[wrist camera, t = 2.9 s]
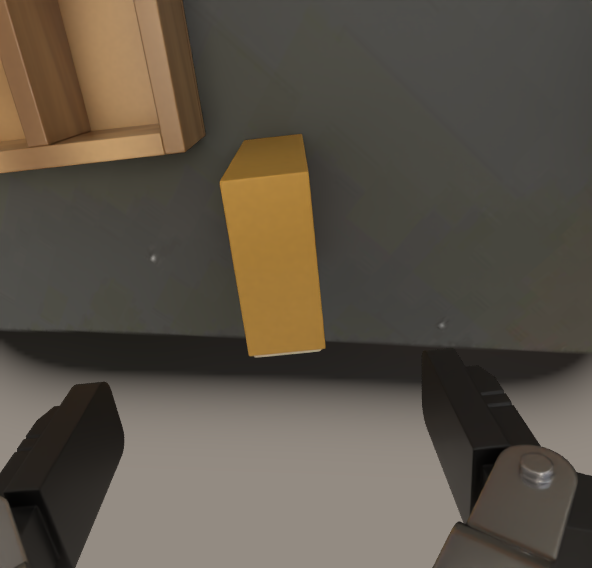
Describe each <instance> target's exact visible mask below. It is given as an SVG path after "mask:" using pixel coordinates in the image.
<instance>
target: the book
mask: <svg viewBox="0 0 592 568" xmlns="http://www.w3.org/2000/svg"><path fill="white" fill-rule="evenodd" d="M220 189H221V194H222V200H223V206H224V212H225V218H226V224H227V230H228V236H229V242H230V247H231V253H232V259H233V265H234V271H235V277H236V283H237V289H238V294H239V300H240V306H241V312H242V318H243V324H244V330H245V336H246V341H247V347H248V353H249V356H255V357H266V356H276V355H286V354H298V353H308V352H318V351H321V349H325V347H326V346H325V336H324V326H323V315H322V305H321V295H320V285H319V274H318V264H317V254H316V244H315V233H314V223H313V213H312V203H311V192H310V182H309V172H308V166H307V160H306V155H305V149H304V143H303V137H302V134H295V135H287V136H278V137H269V138H260V139H251V140H244V141H243V143H242V145H241V146H240V148H239V150H238V151H237V153H236V155H235V156H234V158H233V160H232V162H231V163H230V165H229V167H228V168H227V170H226V172H225V173H224V175H223V177H222V178H221V180H220Z"/></svg>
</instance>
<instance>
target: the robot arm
mask: <svg viewBox="0 0 592 568" xmlns="http://www.w3.org/2000/svg"><path fill="white" fill-rule="evenodd" d="M422 408H423V415H424V420H425V424H426V427H427V429H428V432H429V435H430V437H431V440H432V442H433V445H434V448H435V450H436V453H437V455H438V458H439V461H440V463H441V466H442V468H443V471H444V474H445V476H446V478H447V481H448V484H449V486H450V489H451V491H452V494H453V497H454V499H455V502H456V504H457V507H458V510H459V512H460V515H461V518H462V520H463V523H462V522H457V523H456V524H455V525H454V527H453V528H452V530H451V532H450V534H449V536H448V538H447V540H446V542H445V544H444V546H443V548H442V550H441V552H440V554H439V556H438V558H437V560H436V562H435V564H434V566H433V568H592V476H590V475H585V474H581V473H578V472H576V471H575V469H574V468H573V466H572V465H571V464H570V463H569V461H567V460H566V459H565V458H564V457H563V456H561V455H560V454H558V453H556V452H554V451H552V450H550V449H547V448H544V447H541V446H540V444H539V443H538V441H537V440H536V439H535V437H534V435H533V434H532V432H531V431H530V429H529V428H528V426H527V425H526V423H525V422H524V420H523V419H522V417H521V416H520V414H519V413H518V411H517V410H516V408H515V407H514V405H512V403H511V401H510V399H509V398H508V396H507V395H506V394H504V390H503V389H502V387H501V386H500V384H499V383H498V381H497V380H496V378H495V377H494V376H492V375H491V374H490V373H488V372H487V371H485V370H484V369H482V368H481V367H479V366H468V367H465V366H464V364H463V362H462V360H461V359H460V357H459V355H458V354H457V352H456V350H455V349H454V348H446V349H437V350H426V351H423V353H422ZM123 449H124V432H123V427H122V424H121V421H120V418H119V415H118V411H117V408H116V405H115V401H114V398H113V395H112V391H111V389H110V386H109V385H108V383H106V382H97V383H87V384H76V385H74V386H73V387H72V388H71V390H70V391H69V393H68V394H67V396H66V397H65V399H64V400H63V402H62V403H61V405H60V406H54V407H53V408H52V409H50V410H49V411H48V412H47V413H46V414H44V415H43V416H42V417H41V418H40V419H38V420H37V421H36V423H35V424H34V425H33V427H32V428H31V430H30V431H29V433H28V434H27V435H26V439H24V440H23V441H22V443H21V444H20V446H19V447H18V448H17V452H15V453H14V454H13V455H12V457H11V458H10V460H9V461H8V463H7V464H6V466H5V467H4V468H3V470H2V471H1V473H0V568H75V567H76V564H77V562H78V560H79V557H80V555H81V552H82V550H83V548H84V545H85V543H86V540H87V538H88V536H89V533H90V531H91V528H92V526H93V524H94V521H95V519H96V516H97V514H98V512H99V509H100V507H101V504H102V502H103V500H104V497H105V495H106V493H107V490H108V488H109V485H110V483H111V480H112V478H113V476H114V473H115V471H116V469H117V466H118V464H119V461H120V459H121V456H122V454H123Z"/></svg>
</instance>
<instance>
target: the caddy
mask: <svg viewBox="0 0 592 568" xmlns="http://www.w3.org/2000/svg"><path fill="white" fill-rule="evenodd" d="M205 135H206V133H205V128H204V122H203V116H202V110H201V105H200V99H199V93H198V87H197V82H196V76H195V70H194V64H193V59H192V53H191V47H190V41H189V36H188V30H187V24H186V18H185V13H184V7H183V1H182V0H0V173H8V172H16V171H25V170H34V169H43V168H52V167H61V166H70V165H78V164H87V163H96V162H105V161H114V160H123V159H132V158H140V157H149V156H158V155H164V154H175V153H184V152H186V151H187V150H188V149H190V148H191V147H192V146H193V145H194V144H195V143H197V142H198V141H199V140H200V139H201V138H203V137H204V136H205Z"/></svg>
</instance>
